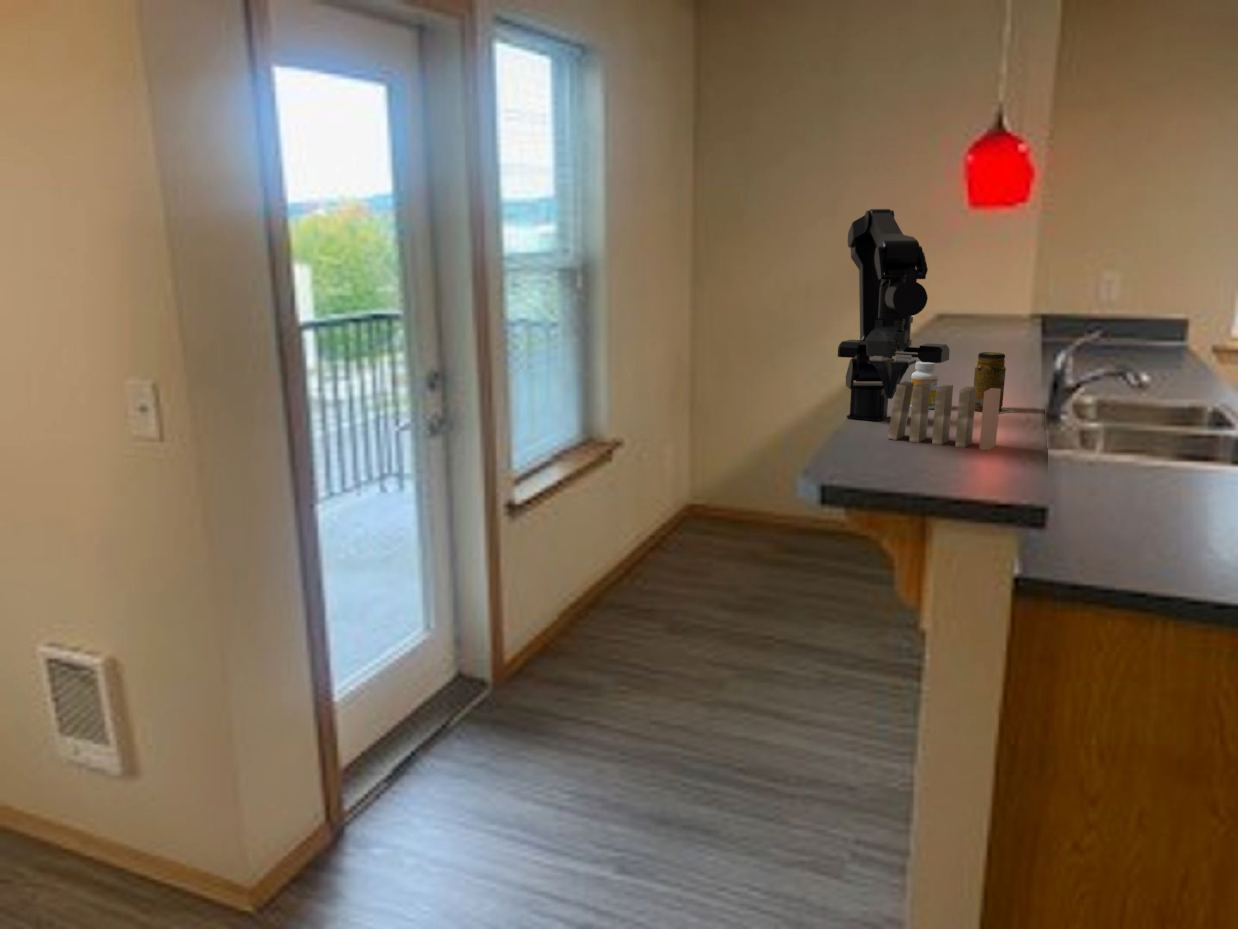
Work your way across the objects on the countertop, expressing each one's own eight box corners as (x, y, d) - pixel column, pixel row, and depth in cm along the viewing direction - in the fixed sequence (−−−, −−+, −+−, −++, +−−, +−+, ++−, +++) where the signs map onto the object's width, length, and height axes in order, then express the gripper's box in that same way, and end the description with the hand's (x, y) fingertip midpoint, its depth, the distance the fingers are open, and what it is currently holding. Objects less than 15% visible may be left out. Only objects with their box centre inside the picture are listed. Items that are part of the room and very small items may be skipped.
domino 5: (979, 449, 159) (984, 391, 156) (986, 444, 163) (991, 387, 160) (989, 450, 158) (993, 392, 155) (995, 445, 162) (1000, 388, 159)
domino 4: (955, 446, 161) (959, 390, 158) (962, 441, 165) (966, 386, 162) (964, 447, 160) (969, 390, 158) (971, 442, 164) (976, 386, 162)
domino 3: (932, 444, 163) (936, 388, 161) (939, 439, 167) (944, 384, 165) (941, 445, 162) (945, 388, 160) (948, 440, 166) (953, 385, 164)
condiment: (986, 405, 200) (991, 350, 198) (1018, 411, 193) (1023, 354, 190) (961, 408, 197) (966, 352, 194) (992, 414, 190) (997, 356, 187)
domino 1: (887, 438, 167) (897, 384, 164) (896, 433, 171) (905, 380, 168) (896, 440, 166) (905, 386, 163) (904, 435, 170) (914, 382, 167)
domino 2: (909, 441, 165) (913, 386, 163) (917, 436, 169) (921, 382, 167) (918, 442, 164) (922, 387, 162) (926, 437, 168) (930, 383, 166)
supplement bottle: (905, 405, 201) (908, 361, 199) (929, 404, 202) (932, 360, 200) (915, 409, 196) (918, 364, 194) (939, 409, 197) (942, 363, 194)
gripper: (828, 313, 163) (824, 400, 167) (934, 316, 153) (928, 409, 156) (850, 309, 172) (846, 392, 176) (953, 312, 162) (946, 400, 165)
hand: (889, 398), depth 168 cm, fingers closed
